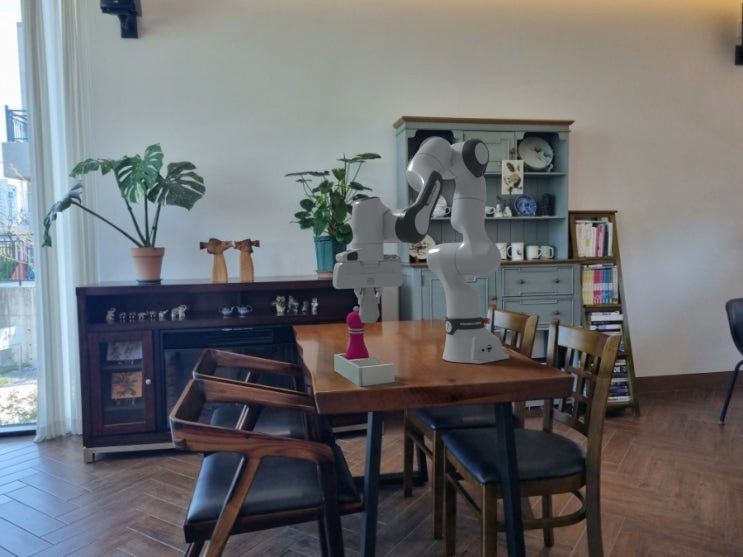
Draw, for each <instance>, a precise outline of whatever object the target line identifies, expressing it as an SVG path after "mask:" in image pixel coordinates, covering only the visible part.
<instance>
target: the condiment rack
mask: <svg viewBox="0 0 743 557" xmlns="http://www.w3.org/2000/svg"><path fill="white" fill-rule="evenodd" d="M345 355H346V352H345V353H335V354H333V361H334V363H333V364H334V365H333V366H334V370H333V371H334V372H336V373H337V372H338V373H337V374H339V375H341V376H342V377H344V378H345V379H347V380H348V381H350V382H351V381H352V383H353V384H354V385H356V386H357V387H366V386H373V385H381V384H382V385H383V384H389V383H395V364H394V363H386V364H385V363H384V364H381V362H380V361H381V359H380V358H381V357H380V356H377V357H374V356H373V357H369V358H364V359H354V360H347V359H345Z"/></svg>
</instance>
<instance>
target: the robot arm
mask: <svg viewBox="0 0 743 557" xmlns="http://www.w3.org/2000/svg"><path fill="white" fill-rule="evenodd" d="M489 162H490V151H489V149H488V146H487V145H486V143H485V142H484V141H483V140H481V139H479V138H477V139H476V138H472V139H467V140H466V141H460V142H455V143H453V144H450V143H449V142H448V141H447V140H446V139H443V138H441V137H432V138H430V139H428V140H427V141H426V142H425V143H424V144H423V145H422V146H420V148H419V149H418V150H417V152H416V153H415V154H414V156H413V158H412V159H411V160H410V161H409V163H408V165H407V167H406V170H405V178H406V181H407V183H408V185H409V186H410V187H411V188H412V189H413V190H414V191H415V192H418V196H417V197H416V200H415V202H414V203H413V204H412V205H411V206H410V205H409V206H407V207H404V208H398V209H397V208H396V209H391V208H390V207H388V206H386V204H384V203H383V202H382V200H381V197H379V196H369V197H362V198H358V199H356V200H355V201H354V202H353V206H352V211H351V230H352V236H353V237H352V241H351V243H352V244H351V246H352V247H351V249H348V250H345V251H342V252H339V253H337V254H336V255H335V260H336V263H335V264H334V267H333V273H332V286H333V288H335V289H336V290H346V289H348V290H349V289H353V293H354V294H355V295H356V298H357V304H358V305H359V306H360V305H362V304H363V298H362V296H361V295H362V288H369V287H370V288H374V289H375V292H376V293H375V295H376V300H377V304H380V298H381V296H382V294H383V292H384V288H393V287H394V288H395V287H401V286H402V285H403V282H404V280H403V279H404V277H403V270H402V265H403V262H402V258H401V257H400V256H399V255H398V254H384V252H385V251H384V250H385V249H384V244H403V243H404V244H419V243H421V242H422V241H423V240H425V238H426V237H427V235H428V232H429V230H430V224H431V220H432V218H433V215H434V212H435V210H436V208H437V204H438V203H439V200H440V197H441V195H442V192H443V188H444V182H445V181H449V180H454V182H455V189H454V194H453V198H452V206H451V207H452V208H451V214H450V224H451V226H452V228H453V229H454V230H455V231H457V232H458V233H460V234H462V238H463V239H462V241H461V242H460V241H459V242H444V243H438V244H436V245H432V246H431V247H430V248H429V250H428V252H427V254H426V264H427V267H428V268H429V270H430V271H431V273H433V274H434V275H435V276H436V277H437V278H438V280H439V281H440V283H441V285H442V287H443V289H444V293H445V294H444V295H445V305H446V316H445V321H444V322H445V324H444V325H445V334H446V335H445V345H444V350H443V353H442V354H443V355H442V359H443V360H445V361H447V362H453V363H462V364H463V363H467V364H469V363H470V364H477V365H478V364H479V365H480V364H485V363H491V362H496V361H502V360H508V359H510V354H509V353H507V352H503V345H502V342H501V341H502V340H500V338H499V337H497V336H496V335H495V334H494V333H493V332H491V331H490V330H489V329H487V328H486V325H490V324H491V321H492V320H491V318H489V317H482V316H481V295H480V293H479V292H478V290H477V289H476V288H474V287H473V286H471V285H469V283H468V282H467V280H466V276H485V275H489V274H494V273H496V272H497V271H498V270H499V268H500V266H501V263H502V253H501V250H500V249H499V247H498V245H497V244H496V243H494V242H493V241H491V239H490V238H489V236H488V235H487V231H486V227H485V214H486V205H487V184H486V179H485V177H484V174H485V173H486V170H487V167H488V165H489ZM371 277H372V278H374V280H375V282H374V284H370V285H369V284H368V283H367V279H368V278H371ZM485 324H486V325H485Z"/></svg>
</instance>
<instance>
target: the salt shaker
mask: <svg viewBox="0 0 743 557" xmlns="http://www.w3.org/2000/svg"><path fill="white" fill-rule="evenodd" d="M374 282H375V280H374V278H372V277H371V278H368V279H367V283H368V284H369V285H370V284H374ZM361 296H362V298H363V304H362V305H360V304H359V311H358V312H359V317H360V319H361V321H362V323H366V324H376V323H377V321H378V319H379V317H380V310H379V305H378V304H377V300H376V289H375V287H374V288H370V287H369V288H361Z"/></svg>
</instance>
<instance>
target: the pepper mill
mask: <svg viewBox="0 0 743 557" xmlns="http://www.w3.org/2000/svg"><path fill="white" fill-rule="evenodd" d="M359 309H360V306H354V307H353V308H352V310H353V311H352V312H350V313H348V314H347V317H346V324H347V325H348V329H347V330H348V333H349V336H350V337H349V344H348V347H347V349H346V352H345V353H346V355H345V359H347V360H354V359H364V358H370V354H369V351H368V349H367V347H366V344H365V339H364V338H365V336H364V334H365V333H366V331H365V330H366V327H365V325H366V324H367V323H362V321H361V319H360V317H359Z"/></svg>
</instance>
